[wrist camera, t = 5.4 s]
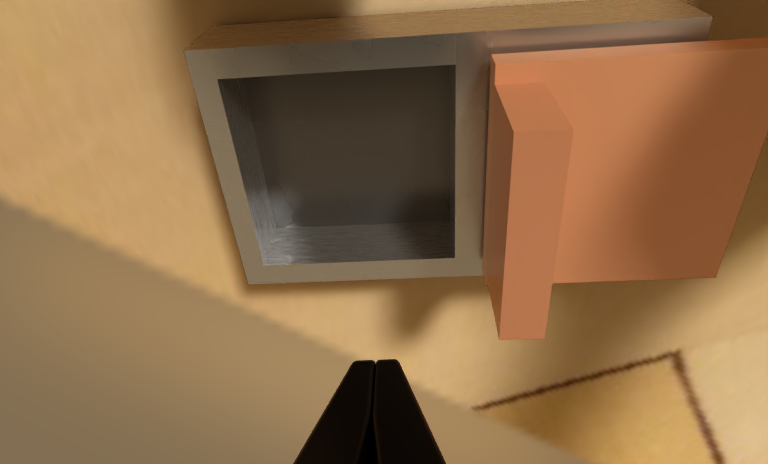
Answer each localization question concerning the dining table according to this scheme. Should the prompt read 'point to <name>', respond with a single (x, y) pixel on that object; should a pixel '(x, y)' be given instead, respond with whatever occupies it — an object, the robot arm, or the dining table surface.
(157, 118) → the dining table surface
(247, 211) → the grey rectangular box
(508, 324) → the salmon l-shaped block
